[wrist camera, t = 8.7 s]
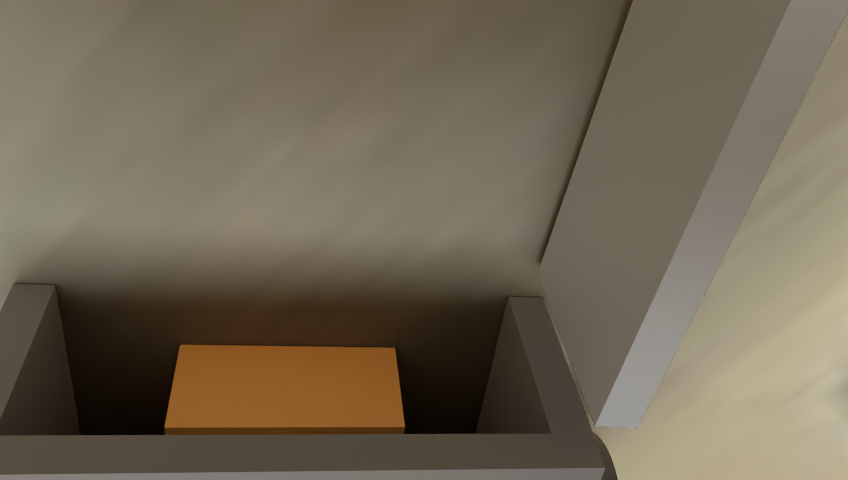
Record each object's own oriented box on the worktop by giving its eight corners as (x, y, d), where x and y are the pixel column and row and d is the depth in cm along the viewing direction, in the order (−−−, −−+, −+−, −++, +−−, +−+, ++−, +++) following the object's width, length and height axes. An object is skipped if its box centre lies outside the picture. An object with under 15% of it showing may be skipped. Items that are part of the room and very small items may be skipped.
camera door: (592, 278, 22) (662, 430, 18) (537, 273, 22) (594, 425, 17) (836, -336, 14) (1067, -336, 10) (757, -358, 14) (960, -370, 10)
